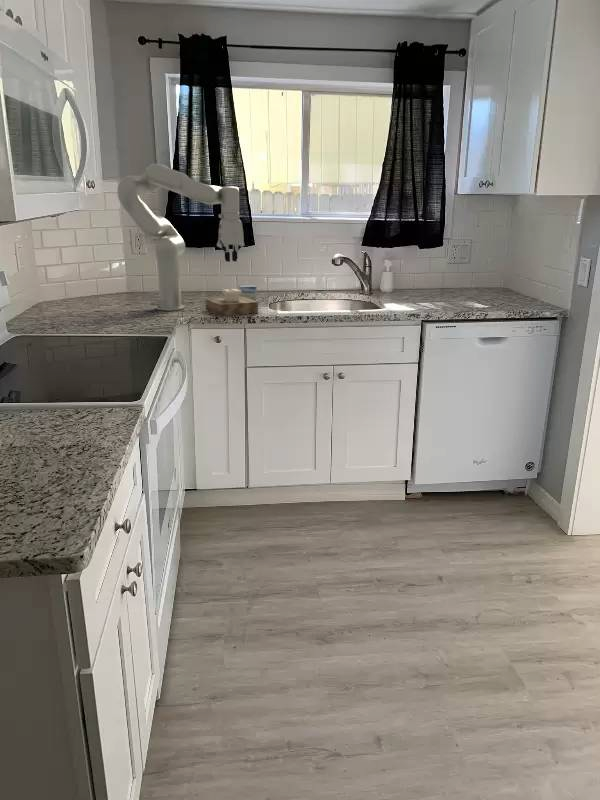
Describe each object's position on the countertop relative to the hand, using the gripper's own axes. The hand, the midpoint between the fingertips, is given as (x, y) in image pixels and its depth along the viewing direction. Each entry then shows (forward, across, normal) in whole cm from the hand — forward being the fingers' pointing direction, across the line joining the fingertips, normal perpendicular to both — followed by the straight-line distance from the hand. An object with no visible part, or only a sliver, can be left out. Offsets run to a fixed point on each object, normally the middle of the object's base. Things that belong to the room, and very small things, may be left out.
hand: (231, 260), depth 267 cm
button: (+19, 0, 0) cm, 19 cm away
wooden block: (+22, 0, 0) cm, 22 cm away
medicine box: (+22, +15, +15) cm, 31 cm away
